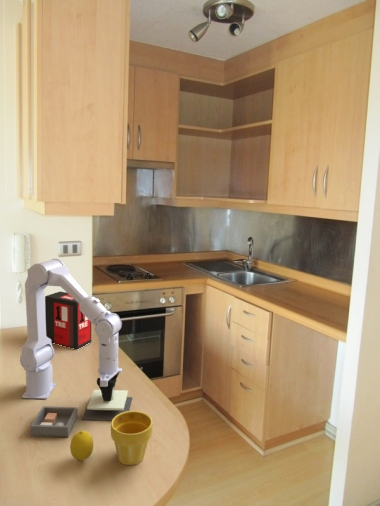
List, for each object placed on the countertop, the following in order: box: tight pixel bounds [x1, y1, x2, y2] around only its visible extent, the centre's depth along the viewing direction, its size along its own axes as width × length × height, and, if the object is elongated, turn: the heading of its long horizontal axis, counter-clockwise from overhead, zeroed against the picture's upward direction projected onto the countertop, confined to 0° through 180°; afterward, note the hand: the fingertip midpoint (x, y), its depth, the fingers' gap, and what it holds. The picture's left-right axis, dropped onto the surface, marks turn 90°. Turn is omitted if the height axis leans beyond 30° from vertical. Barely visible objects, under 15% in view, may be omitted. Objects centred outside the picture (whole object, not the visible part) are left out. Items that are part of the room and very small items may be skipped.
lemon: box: [69, 430, 94, 462], centre depth 104 cm, size 6×6×8 cm
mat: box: [81, 396, 133, 422], centre depth 128 cm, size 13×13×1 cm
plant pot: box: [110, 410, 154, 466], centre depth 106 cm, size 10×10×10 cm
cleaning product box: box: [44, 290, 92, 350], centre depth 176 cm, size 16×9×20 cm, turn 66°
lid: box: [86, 387, 129, 410], centre depth 128 cm, size 11×11×5 cm
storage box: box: [30, 405, 79, 439], centre depth 118 cm, size 10×10×3 cm
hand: (108, 397), depth 128 cm, fingers closed on lid, 3 cm apart
